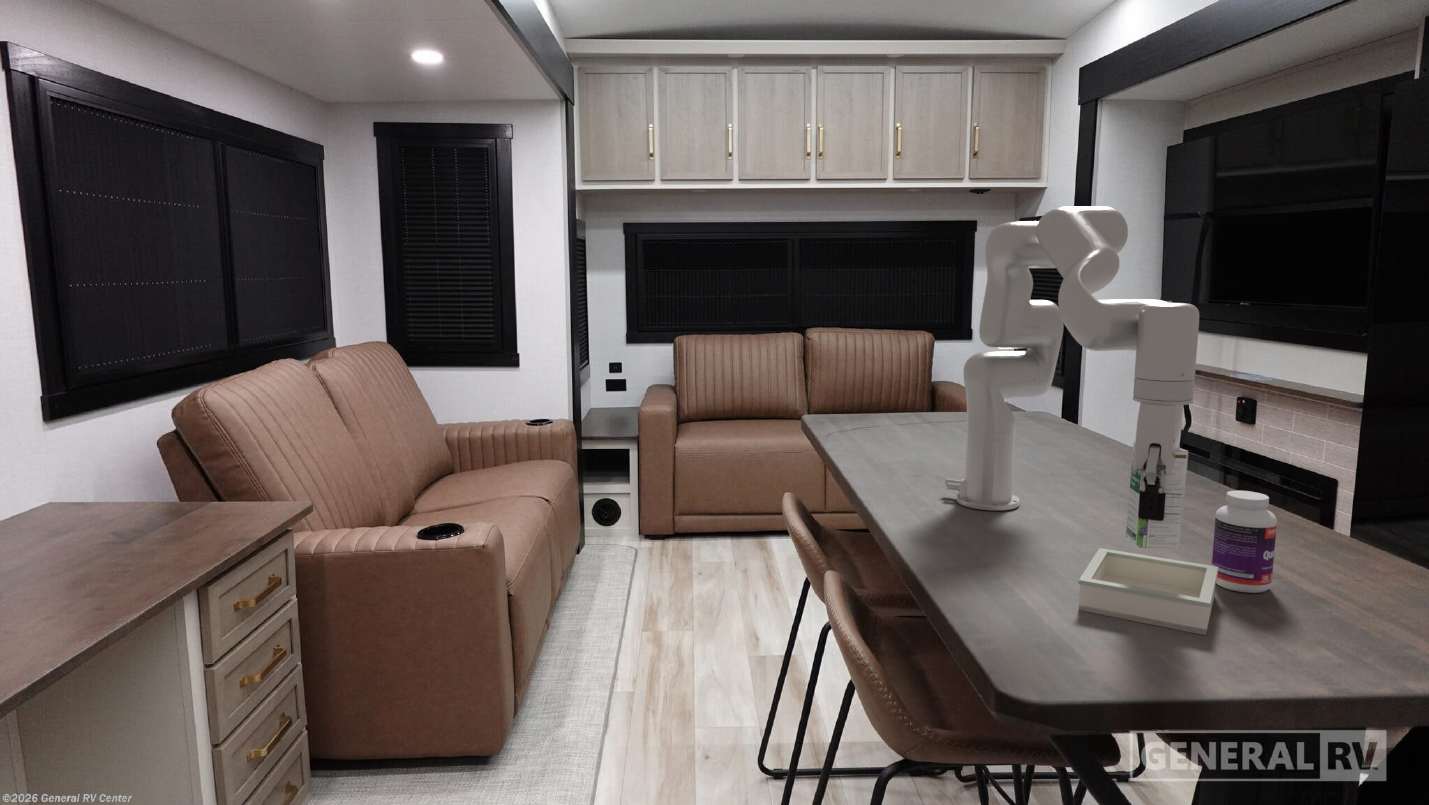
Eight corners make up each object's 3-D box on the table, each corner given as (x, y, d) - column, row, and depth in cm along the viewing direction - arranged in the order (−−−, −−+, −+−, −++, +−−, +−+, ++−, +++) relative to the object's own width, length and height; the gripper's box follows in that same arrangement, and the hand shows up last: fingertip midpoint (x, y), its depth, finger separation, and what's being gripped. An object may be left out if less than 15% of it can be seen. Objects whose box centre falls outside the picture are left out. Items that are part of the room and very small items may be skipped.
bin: (1076, 610, 124) (1078, 580, 123) (1097, 575, 137) (1099, 547, 137) (1207, 636, 115) (1210, 603, 114) (1216, 596, 128) (1218, 566, 128)
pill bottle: (1271, 599, 127) (1280, 505, 125) (1208, 589, 131) (1216, 497, 129) (1270, 582, 134) (1279, 492, 131) (1211, 573, 138) (1218, 485, 136)
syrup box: (1123, 536, 128) (1130, 440, 125) (1165, 536, 127) (1172, 440, 125) (1138, 548, 122) (1145, 449, 120) (1182, 549, 121) (1190, 449, 119)
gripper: (1142, 382, 130) (1134, 495, 133) (1124, 397, 116) (1116, 523, 119) (1198, 385, 126) (1189, 501, 129) (1187, 401, 112) (1177, 532, 115)
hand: (1154, 511), depth 124 cm, fingers closed on syrup box, 7 cm apart
